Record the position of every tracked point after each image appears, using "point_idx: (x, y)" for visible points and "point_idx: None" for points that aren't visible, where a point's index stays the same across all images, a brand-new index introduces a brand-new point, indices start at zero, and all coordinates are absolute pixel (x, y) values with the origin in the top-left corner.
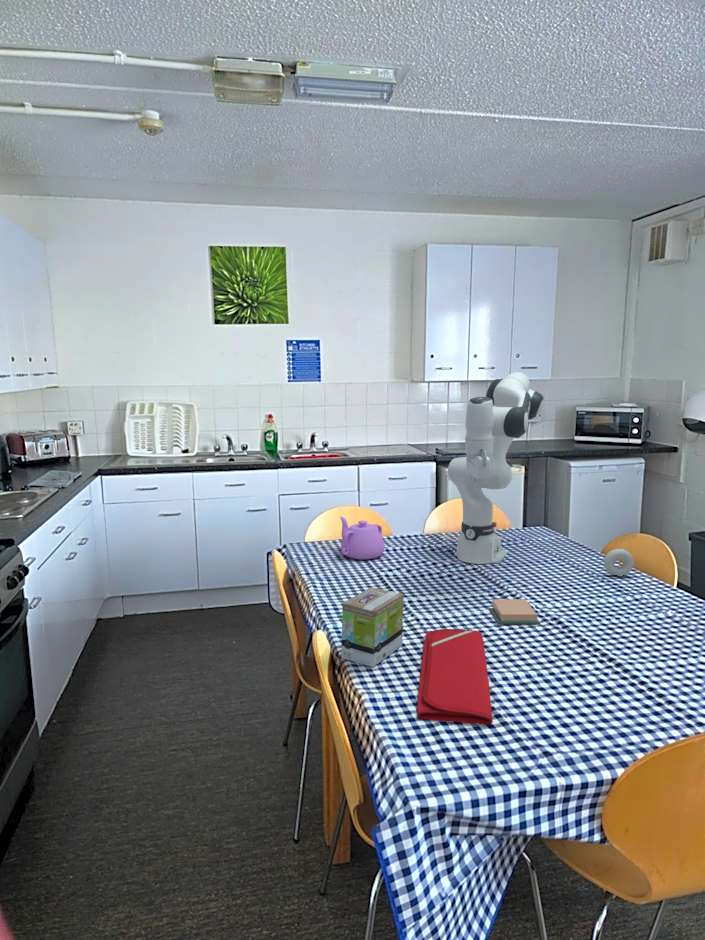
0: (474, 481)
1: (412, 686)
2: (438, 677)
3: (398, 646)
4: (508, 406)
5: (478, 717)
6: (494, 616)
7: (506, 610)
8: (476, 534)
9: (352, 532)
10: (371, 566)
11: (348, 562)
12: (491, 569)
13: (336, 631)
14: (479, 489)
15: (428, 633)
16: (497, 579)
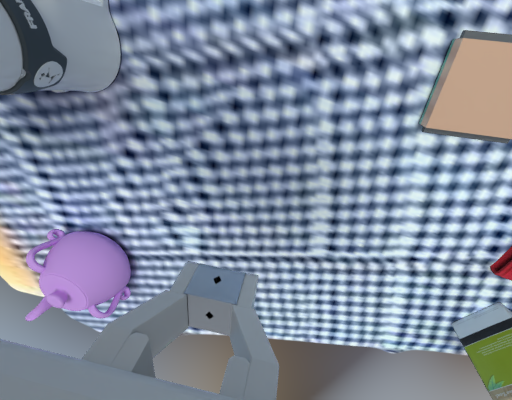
0: (164, 344)
1: None
2: None
3: (509, 310)
4: None
5: None
6: (473, 138)
7: (509, 121)
8: (51, 56)
9: (96, 309)
10: (158, 256)
11: (141, 279)
12: (155, 25)
13: (409, 345)
14: (255, 290)
15: (508, 277)
16: (232, 36)
